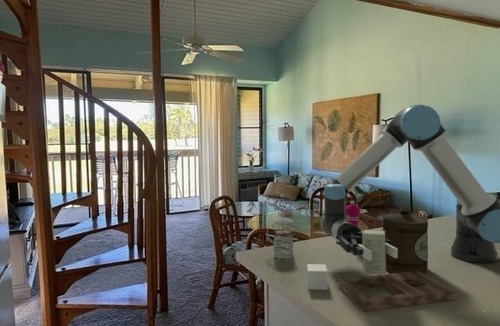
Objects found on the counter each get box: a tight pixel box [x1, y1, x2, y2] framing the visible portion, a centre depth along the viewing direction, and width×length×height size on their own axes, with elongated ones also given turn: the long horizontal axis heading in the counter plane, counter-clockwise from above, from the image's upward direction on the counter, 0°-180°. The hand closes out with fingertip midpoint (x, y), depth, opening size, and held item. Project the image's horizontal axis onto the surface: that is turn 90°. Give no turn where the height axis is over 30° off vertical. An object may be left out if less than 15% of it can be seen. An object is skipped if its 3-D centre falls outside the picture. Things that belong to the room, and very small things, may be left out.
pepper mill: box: [345, 200, 361, 246], centre depth 150 cm, size 7×7×20 cm
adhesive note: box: [306, 263, 328, 291], centre depth 113 cm, size 6×6×6 cm
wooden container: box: [382, 206, 429, 275], centre depth 124 cm, size 15×15×22 cm
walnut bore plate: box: [338, 271, 456, 312], centre depth 105 cm, size 28×16×2 cm, turn 100°
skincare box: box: [362, 229, 387, 276], centre depth 104 cm, size 6×4×12 cm
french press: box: [265, 193, 296, 259], centre depth 143 cm, size 10×12×25 cm
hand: (383, 254), depth 99 cm, fingers closed on skincare box, 7 cm apart
